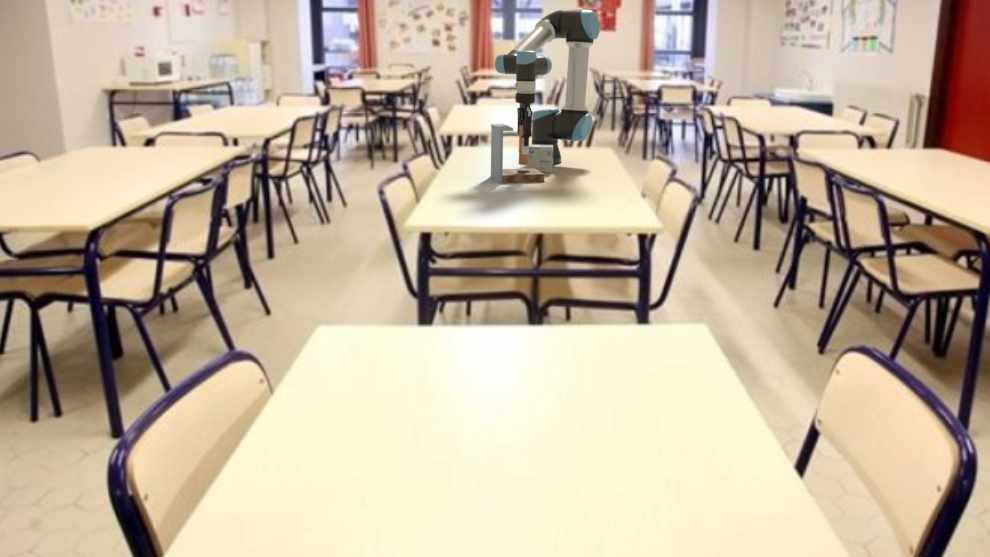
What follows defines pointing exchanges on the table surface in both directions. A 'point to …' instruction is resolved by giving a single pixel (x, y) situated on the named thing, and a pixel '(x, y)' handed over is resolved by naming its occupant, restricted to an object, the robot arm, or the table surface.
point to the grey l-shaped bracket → (497, 150)
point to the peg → (522, 157)
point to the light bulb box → (541, 158)
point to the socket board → (522, 175)
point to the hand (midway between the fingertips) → (523, 153)
